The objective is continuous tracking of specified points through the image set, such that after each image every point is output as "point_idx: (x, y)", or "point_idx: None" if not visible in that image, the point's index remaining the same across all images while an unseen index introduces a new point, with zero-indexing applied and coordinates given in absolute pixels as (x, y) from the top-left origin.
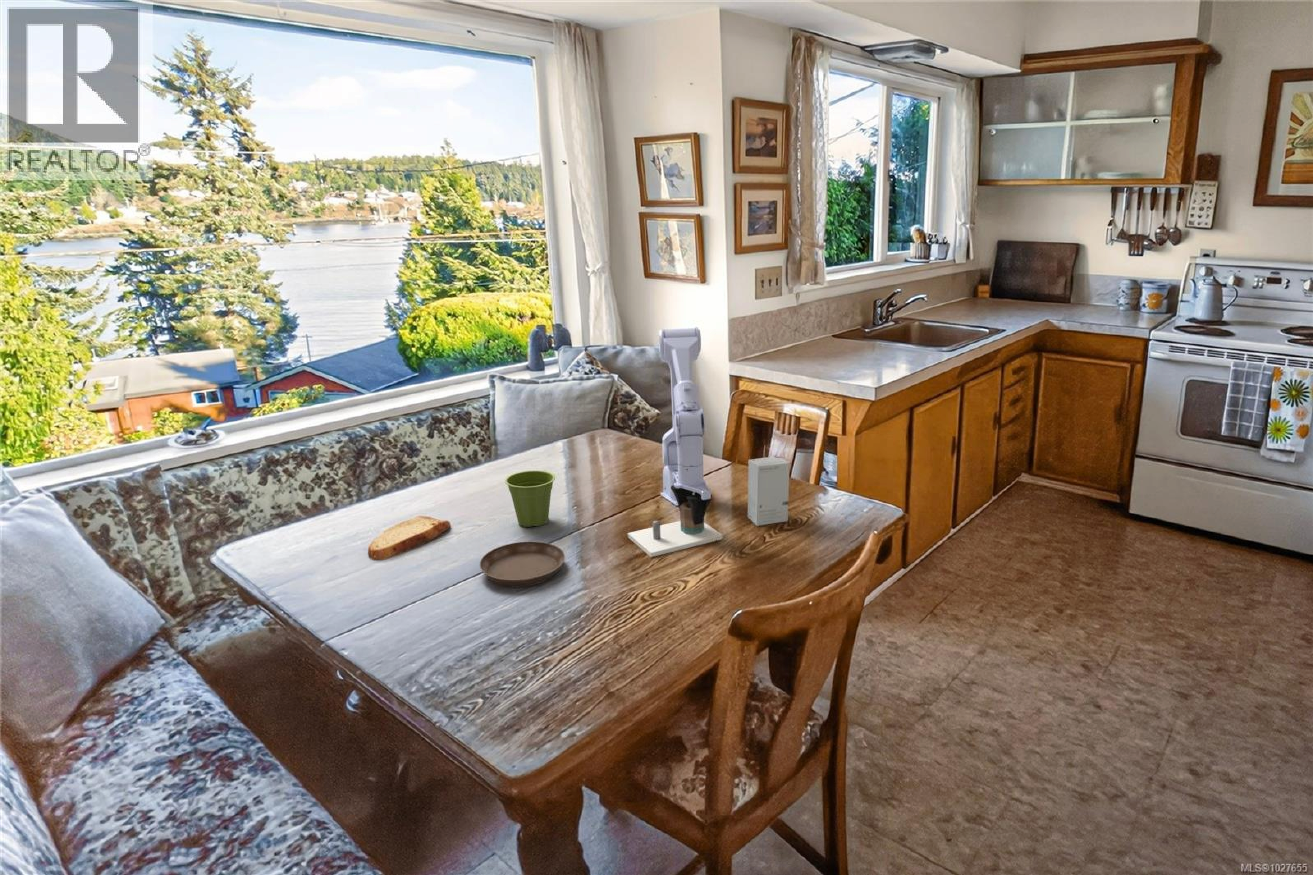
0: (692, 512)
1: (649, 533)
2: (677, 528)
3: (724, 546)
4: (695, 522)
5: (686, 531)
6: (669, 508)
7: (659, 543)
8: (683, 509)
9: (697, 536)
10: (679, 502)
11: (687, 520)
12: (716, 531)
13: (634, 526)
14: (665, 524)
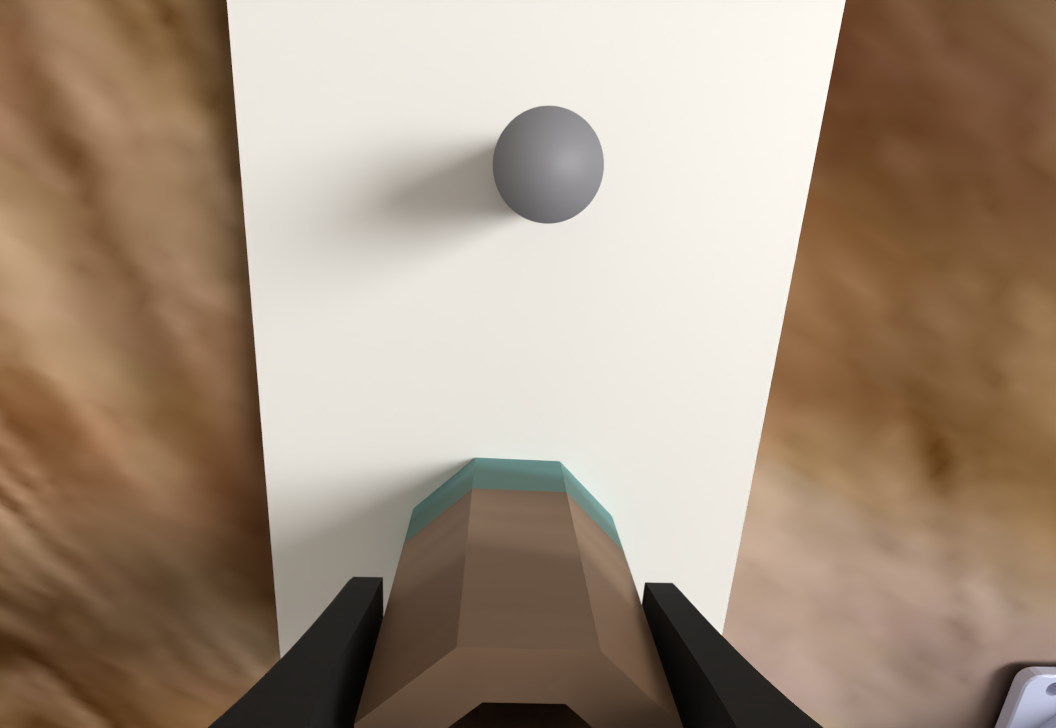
0: (292, 681)
1: (684, 168)
2: (615, 458)
3: (166, 604)
4: (338, 599)
5: (463, 478)
6: (1040, 608)
7: (400, 126)
8: (491, 635)
9: (361, 515)
10: (719, 700)
11: (442, 558)
12: None
13: (986, 177)
14: (761, 412)
